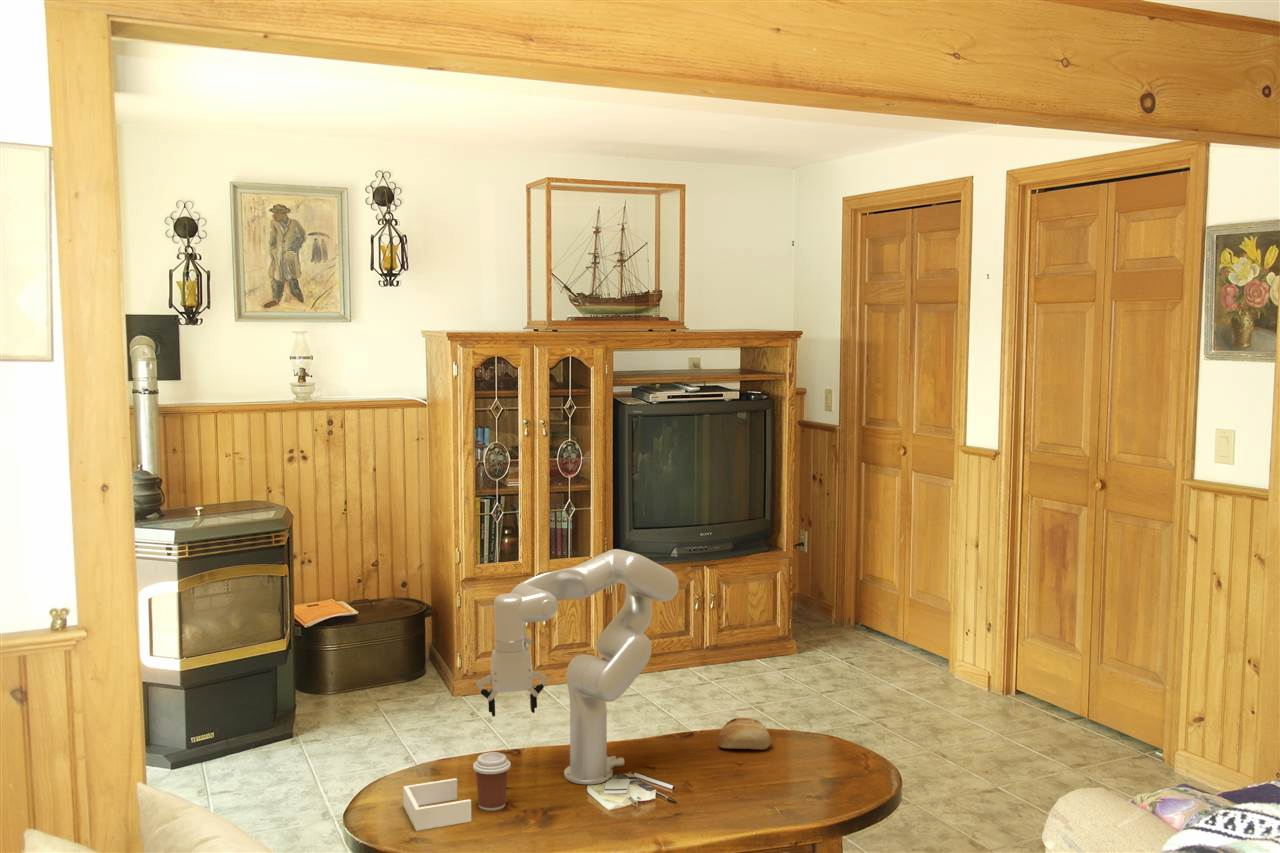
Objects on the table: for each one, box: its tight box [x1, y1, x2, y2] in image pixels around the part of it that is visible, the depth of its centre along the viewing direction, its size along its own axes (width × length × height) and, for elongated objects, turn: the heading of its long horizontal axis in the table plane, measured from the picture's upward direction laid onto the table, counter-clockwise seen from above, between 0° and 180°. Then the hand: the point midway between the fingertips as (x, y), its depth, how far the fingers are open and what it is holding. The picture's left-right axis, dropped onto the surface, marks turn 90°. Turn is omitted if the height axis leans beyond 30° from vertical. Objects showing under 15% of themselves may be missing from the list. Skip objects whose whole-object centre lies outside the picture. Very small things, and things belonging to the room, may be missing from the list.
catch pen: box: [403, 777, 472, 832], centre depth 263 cm, size 13×14×5 cm
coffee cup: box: [472, 751, 511, 812], centre depth 268 cm, size 9×9×12 cm
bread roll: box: [716, 717, 772, 751], centre depth 307 cm, size 10×15×8 cm, turn 94°
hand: (513, 712), depth 270 cm, fingers open, 9 cm apart
